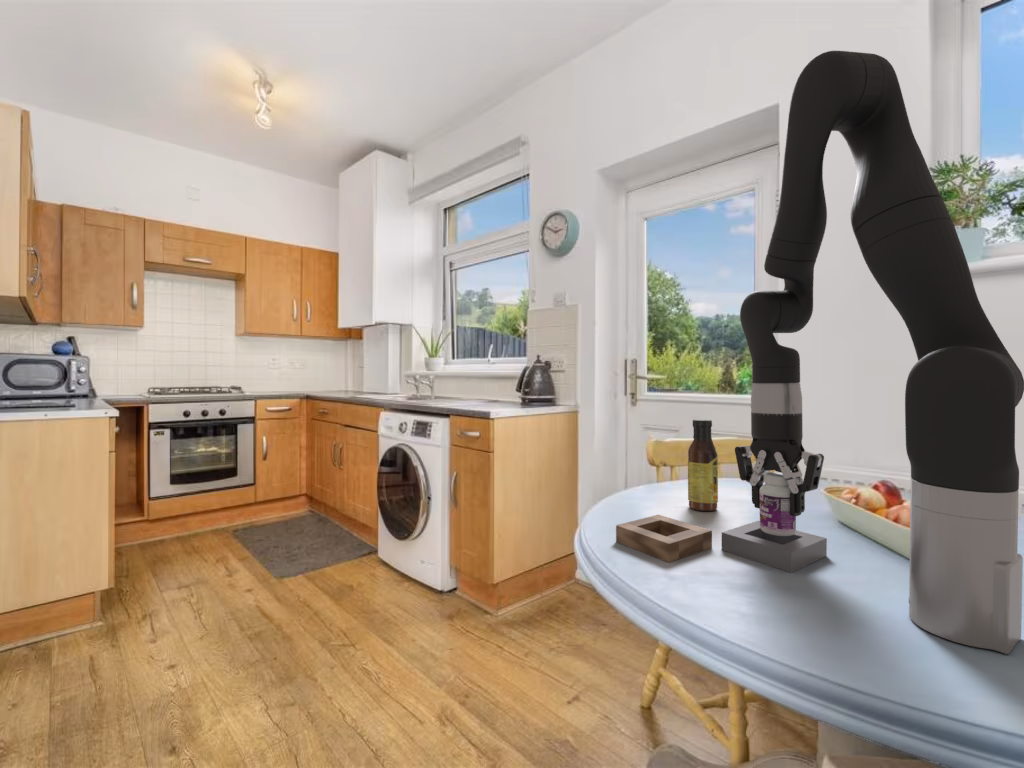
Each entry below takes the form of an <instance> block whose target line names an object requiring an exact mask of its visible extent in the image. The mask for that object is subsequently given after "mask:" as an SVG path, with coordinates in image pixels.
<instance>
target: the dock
mask: <svg viewBox="0 0 1024 768" xmlns="http://www.w3.org/2000/svg"><path fill="white" fill-rule="evenodd" d="M615 542H616V543H618V544H621V545H623V546H626V547H628V548H631V549H634V550H635V551H636V550H637V551H639V552H642V553H644V554H647V555H649V556H651V557H654V558H656V559H659V560H662V561H664V562H667V563H671V562H674V561H677V560H680V559H683V558H685V557H689V556H692V555H694V554H697V553H701V552H703V551H706V550H709V549H712V548H713V530H712V529H708V528H704V527H701V526H699V525H698V526H697V525H694V524H692V523H688V522H685V521H682V520H678V519H674V518H671V517H667V516H665V515H663V514H655V515H651V516H648V517H644V518H639V519H636V520H635V519H634V520H631V521H627V522H624V523H620V524H616V525H615Z"/></svg>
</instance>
